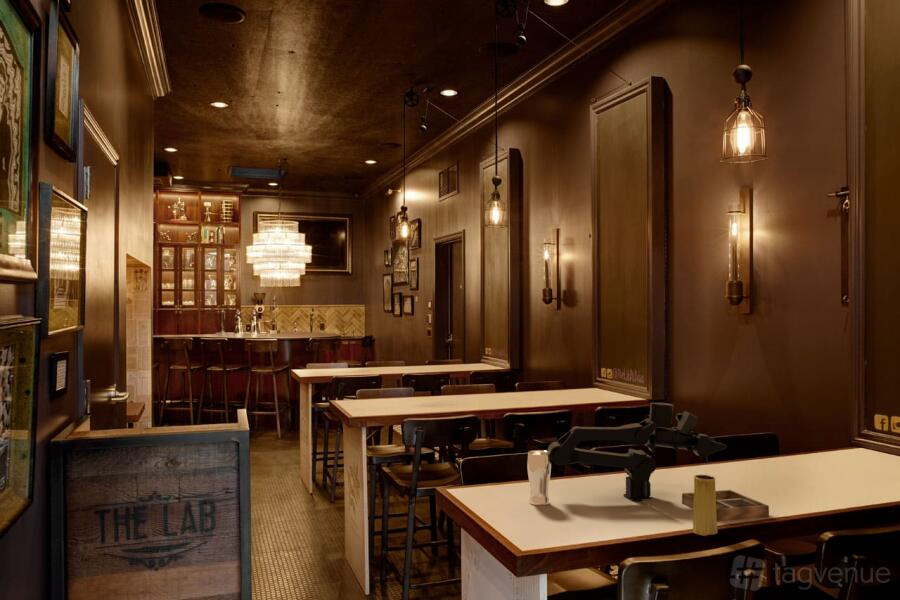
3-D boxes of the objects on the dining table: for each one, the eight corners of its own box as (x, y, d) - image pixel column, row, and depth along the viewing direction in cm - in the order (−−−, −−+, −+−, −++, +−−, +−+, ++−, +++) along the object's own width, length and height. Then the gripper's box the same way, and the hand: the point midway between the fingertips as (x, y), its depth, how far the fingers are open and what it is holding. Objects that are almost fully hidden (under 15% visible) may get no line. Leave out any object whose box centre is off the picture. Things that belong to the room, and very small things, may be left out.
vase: (711, 528, 177) (711, 474, 177) (721, 536, 171) (721, 479, 171) (688, 529, 176) (688, 474, 177) (698, 536, 170) (697, 480, 171)
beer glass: (532, 507, 197) (532, 455, 197) (524, 500, 203) (523, 450, 204) (554, 505, 199) (554, 454, 199) (545, 498, 205) (545, 449, 206)
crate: (717, 522, 182) (717, 509, 182) (682, 505, 198) (682, 493, 198) (768, 518, 185) (768, 505, 185) (730, 501, 202) (730, 489, 202)
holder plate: (734, 518, 184) (734, 509, 184) (714, 508, 193) (714, 500, 193) (763, 515, 186) (763, 506, 186) (742, 506, 195) (742, 498, 195)
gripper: (682, 416, 197) (735, 422, 197) (663, 407, 216) (712, 413, 215) (678, 454, 197) (731, 460, 196) (659, 442, 215) (708, 447, 215)
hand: (720, 443), depth 206 cm, fingers open, 9 cm apart
